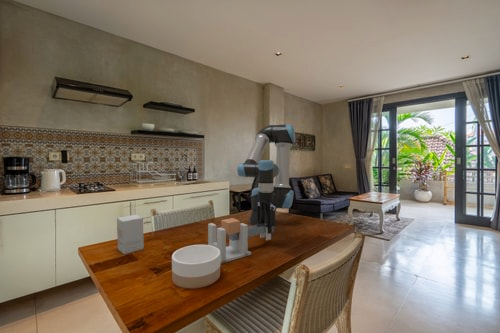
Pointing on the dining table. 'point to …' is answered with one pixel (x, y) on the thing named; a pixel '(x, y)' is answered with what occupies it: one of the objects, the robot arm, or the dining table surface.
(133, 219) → the supplement box
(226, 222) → the block
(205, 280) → the bowl
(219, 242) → the bracket
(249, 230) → the shaft
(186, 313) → the dining table surface
